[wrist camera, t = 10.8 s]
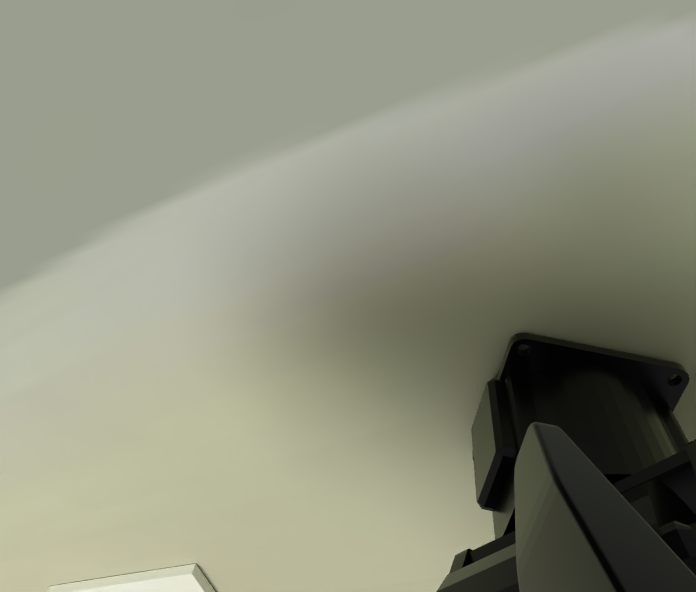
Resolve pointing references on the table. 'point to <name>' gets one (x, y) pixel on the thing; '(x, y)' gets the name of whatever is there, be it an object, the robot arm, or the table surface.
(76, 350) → the table surface
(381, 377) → the table surface
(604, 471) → the robot arm
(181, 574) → the mat
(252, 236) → the table surface
